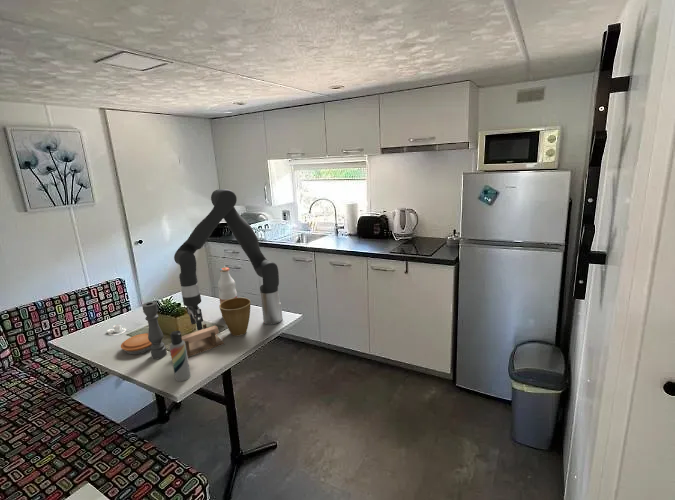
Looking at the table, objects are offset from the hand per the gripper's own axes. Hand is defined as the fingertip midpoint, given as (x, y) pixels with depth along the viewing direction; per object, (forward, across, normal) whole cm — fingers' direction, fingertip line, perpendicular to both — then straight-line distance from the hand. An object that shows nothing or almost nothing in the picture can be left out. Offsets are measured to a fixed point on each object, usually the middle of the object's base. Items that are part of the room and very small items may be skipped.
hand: (196, 326), depth 164 cm
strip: (+6, 0, 0) cm, 6 cm away
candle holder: (+11, +7, +16) cm, 21 cm away
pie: (+11, +21, +21) cm, 32 cm away
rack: (+11, +3, 0) cm, 11 cm away
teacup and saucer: (+11, +52, +27) cm, 60 cm away
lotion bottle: (+11, -19, +13) cm, 26 cm away
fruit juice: (+12, +24, -25) cm, 36 cm away
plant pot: (+12, +2, -20) cm, 23 cm away
